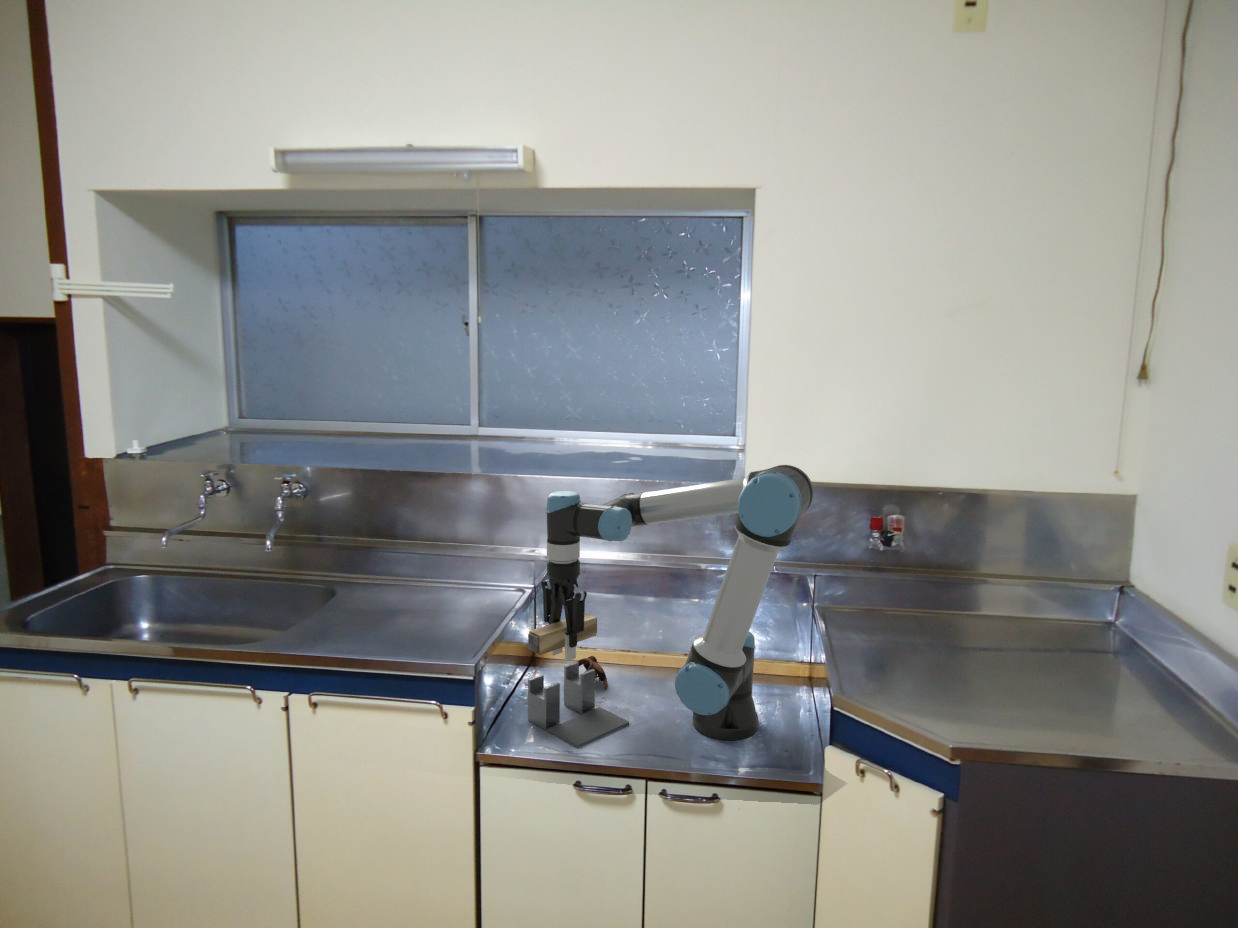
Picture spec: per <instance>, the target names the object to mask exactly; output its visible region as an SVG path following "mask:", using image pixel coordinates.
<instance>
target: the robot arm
mask: <svg viewBox="0 0 1238 928" xmlns="http://www.w3.org/2000/svg"><path fill="white" fill-rule="evenodd" d="M812 483H813V482H812V481H811V479H810V477H809V476H808V474H806V473H805V472H804V471H803V470H802V469H800V468H799V467H797V466H794V465H790V464H779V465H776V466H772V467H769V468H766V469H761V470H755V471H750V472H749V473H748V474H747V475H746V477H740V478H732V479H727V480H722V481H721V480H719V481H715V482H714V481H713V482H707V483H701V484H699V483H698V484H693V485H686V486H678V487H672V488H665V489H659V490H653V491H645V492H640V493H639V492H628V493H623V494H622V495H620V496H618V497H617V498H614V499H612V500H609V501H607V502H604V503H602V504H593V503H592V504H591V503H585V502H581V500H582V499H581V496H580V494H579V493H578V492H576V491H572V490H571V491H570V490H560V491H559V490H558V491H553V492H551V493H550V494H548V495H547V501H546V511H545V514H546V535H547V537H546V558H547V561H546V574H547V576H548V577H549V579H545V580H542V581H541V582H540V584H541V587H542V600H543V602H542V603H543V604H542V605H543V621H544V623H547V624H548V625H550V624H553V623H556V622H559V621H562V620H561V619H562V610H564V618H565V619H566V625H567V632H566V633H565V647H562V648H559V649H556V650H553V651H551V655H552V656H556V655H560V654H562V653H563V649H564V661H565V662H569V661H573V660H574V659H577V656H576V655H577V646H578V642H577V633H580V632H583V631H584V613H585V611H586V609H585V607H586V605H585V604H586V599H587V596H588V593H587V591H586V590H583V591H582V590H581V589H580V588H579V584H578V578H579V576H580V575H581V562H580V560H579V558H580V557H581V555H580V554H581V553H580V552H581V546H580V545H581V542H580V541H581V537H582V538H589V539H593V540H594V539H595V540H603V541H608V542H623V541H625V540H627V538H629V535H630V534H631V532H632V528H633V527H641V526H647V525H654V524H661V523H662V524H663V523H669V522H678V521H686V520H692V519H693V520H694V519H701V518H703V519H704V518H712V517H718V516H727V515H734V514H737V516H736V519H735V523H734V530H735V531H736V533H737V534H738V537H737V540H736V542H735V544H734V547H733V551H732V554H731V557H730V559H729V562H728V565H727V566H726V567H727V568H726V570H725V572H724V573H725V574H724V576H723V579H722V582H721V584H720V587H719V590H718V593H717V594H716V598H715V601H714V605H713V607H712V609H711V613H710V615H709V618H708V620H707V624H706V626H705V628H704V631H703V634H700V635H697V636H696V637H695V638H694V639H693V642H692V645H691V647H690V650H689V652H688V656H687V658H686V660H685V663H684V665H683V666H682V667H680V668H679V670H678V671H677V674H676V677H675V678H674V679H675V681H674V689H675V693H676V695H677V696H678V698H679V700H680V703H681V704H683V705H684V707H686V708H687V709H688V710H690V711H691V712H692V721H691V722H692V725H693V727H694V728H695V730H697V731H698V732H699V733H701V734H703V735H705V736H707V737H709V738H710V737H711V738H714V739H718V740H725V741H726V740H727V741H737V740H743V739H747V738H750V737H752V736H753V735H755V734H756V733H757V732H758V728H759V715H758V712H757V710H756V706H755V701H754V697H753V685H754V684H753V683H754V668H755V667H754V666H755V661H754V660H755V650H756V645H755V643H756V641H755V636H754V634H753V633H752V632H751V631H750V629H751V626H752V623H753V621H754V620H755V619H754V618H755V617H756V613H757V611H758V607H759V605H760V602H761V599H762V598H763V595H764V592H765V589H766V586H767V584H768V581H769V578H770V576H771V573H772V570H773V567H774V565H775V561H776V559H777V557H778V554H779V551H781V550H785V549H787V548H789V546H790V544H791V541H792V539H793V536H794V534H795V531H796V529H797V526H798V523H799V521H800V518H801V517H802V516H803V515H804V514H805V513H806V512H807V511H808V510H809V509H810V507H811V505H812V502H813V500H814V487H813V484H812ZM572 627H573V628H572Z"/></svg>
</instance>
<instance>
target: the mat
mask: <svg viewBox="0 0 1238 928" xmlns="http://www.w3.org/2000/svg"><path fill="white" fill-rule="evenodd" d="M629 725H630V721H628V720H627V719H624V718H622V717H620V716H618V715H616V714H614V713H612V712H610V711H609V710H607V709H605V708H603V707H601V706H598V707H596V708H595V709H593V710H591V711H589V712H586V713H584V714H579V715H577V716H575V717H572V718H570V719H567V720H565V721H563V722H561V723H560V724H558V725H556V726H553V727H551V728H549V729H548V730H547V732H549V733H550V734H552V735H554V736H555V737H557V738H560V739H561V740H563V741H564V742H566V743H568V744H569V745H571V746H572V747H575V748H576V749H579V748H580V747H582V746H585V745H588V744H589V743H592V742H593V741H596V740H598V739H600V738H603V737H605V736H607V735H609V734H611V733H613V732H616V731H618V730H620V729H622V728H624V727H626V726H629Z"/></svg>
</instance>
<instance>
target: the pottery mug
mask: <svg viewBox="0 0 1238 928" xmlns="http://www.w3.org/2000/svg"><path fill="white" fill-rule="evenodd" d="M576 662H579V667H581V666H583V667H584V669H585V671H584V672H587V671H589V670H592V669H594V670H595V680H596V679H598V682H603V683H602V685H603V686H604V690H605V691H607V690H608V688H609V683H608V678H607V675H606V673H605V670H604V669H603V667H602V666H601V664H599V663H598V660H597V658H596V656H594V655H590V656H587V657H584V658H581V659H578V660H576Z"/></svg>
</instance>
